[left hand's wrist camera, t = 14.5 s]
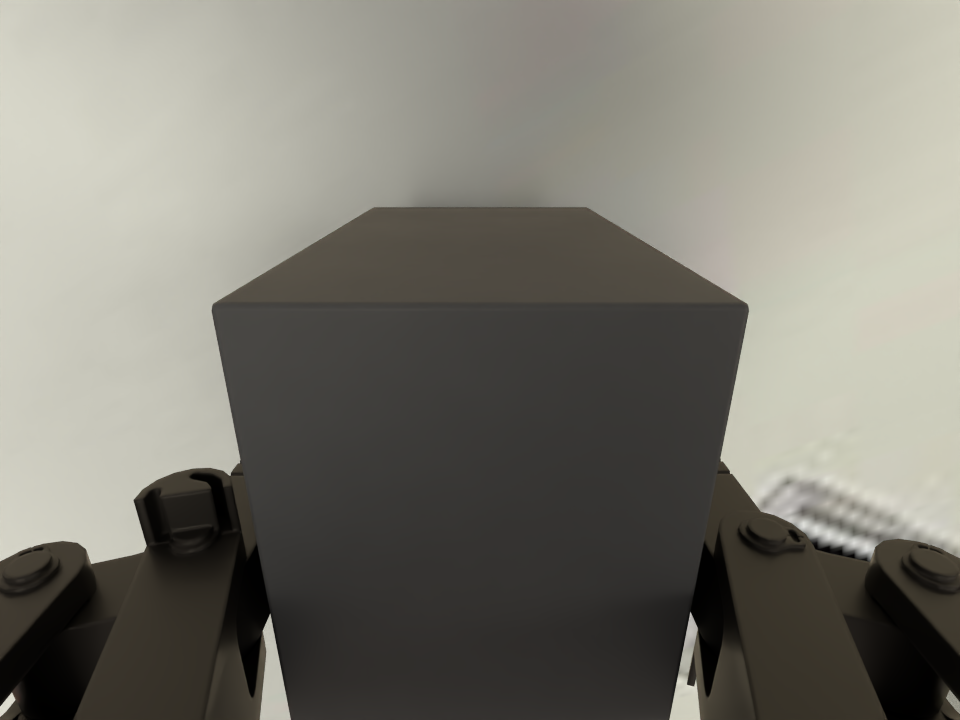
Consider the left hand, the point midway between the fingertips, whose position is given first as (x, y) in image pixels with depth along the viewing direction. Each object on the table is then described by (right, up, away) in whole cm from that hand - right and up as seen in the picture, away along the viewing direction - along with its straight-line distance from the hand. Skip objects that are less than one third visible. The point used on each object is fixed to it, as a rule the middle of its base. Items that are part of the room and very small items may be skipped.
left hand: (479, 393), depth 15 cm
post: (0, -21, +9) cm, 23 cm away
